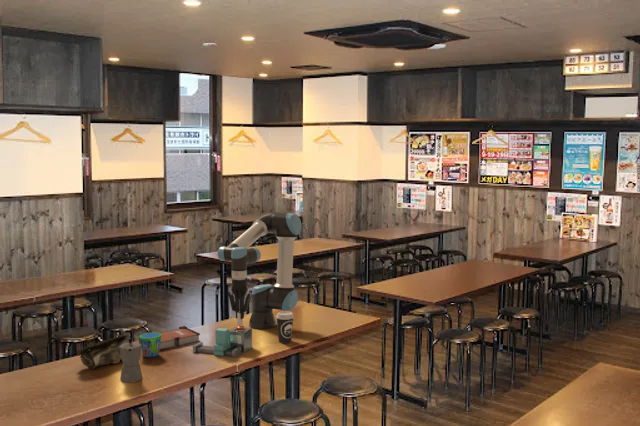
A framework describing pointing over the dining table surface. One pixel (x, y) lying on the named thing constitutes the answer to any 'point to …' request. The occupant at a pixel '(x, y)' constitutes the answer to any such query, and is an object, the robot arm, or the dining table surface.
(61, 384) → the dining table surface
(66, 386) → the dining table surface
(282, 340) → the coffee cup
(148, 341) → the snack cup
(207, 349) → the rail
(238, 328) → the gauge plunger
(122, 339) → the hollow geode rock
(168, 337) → the book
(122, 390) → the dining table surface
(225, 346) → the carriage
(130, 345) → the coffeepot
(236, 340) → the end cabinet
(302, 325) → the dining table surface
